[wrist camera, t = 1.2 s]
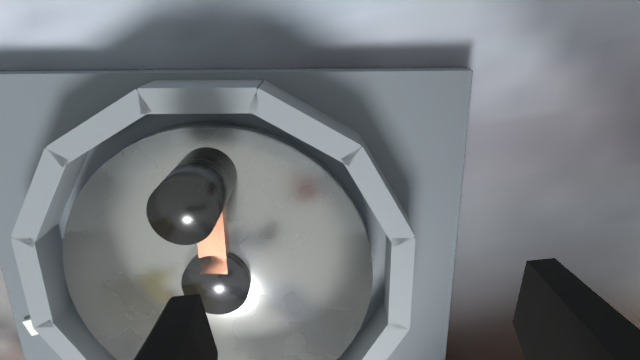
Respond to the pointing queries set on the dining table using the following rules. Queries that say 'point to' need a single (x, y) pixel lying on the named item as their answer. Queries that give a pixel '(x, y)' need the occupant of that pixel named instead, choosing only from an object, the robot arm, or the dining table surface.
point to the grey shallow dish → (265, 113)
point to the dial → (220, 244)
